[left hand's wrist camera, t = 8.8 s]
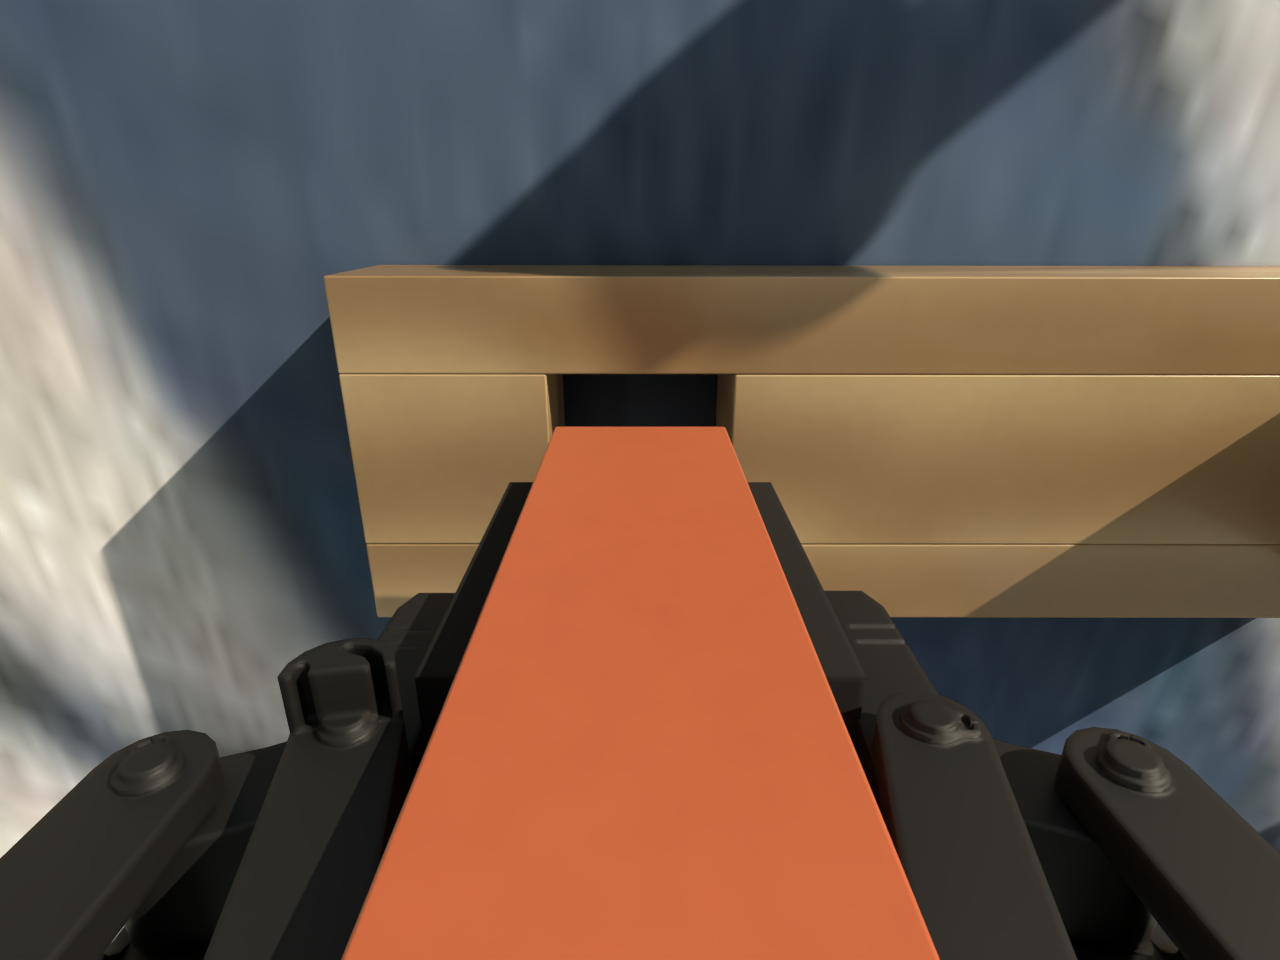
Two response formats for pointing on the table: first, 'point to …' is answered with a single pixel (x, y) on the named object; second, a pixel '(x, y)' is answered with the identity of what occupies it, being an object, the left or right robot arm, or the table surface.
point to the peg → (640, 743)
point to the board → (858, 419)
